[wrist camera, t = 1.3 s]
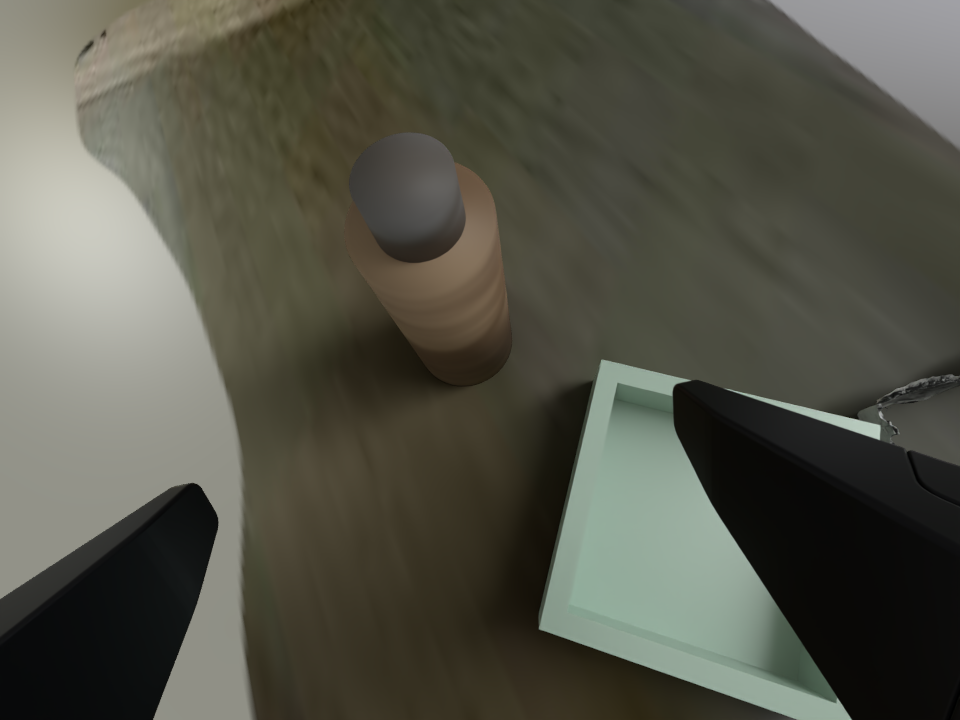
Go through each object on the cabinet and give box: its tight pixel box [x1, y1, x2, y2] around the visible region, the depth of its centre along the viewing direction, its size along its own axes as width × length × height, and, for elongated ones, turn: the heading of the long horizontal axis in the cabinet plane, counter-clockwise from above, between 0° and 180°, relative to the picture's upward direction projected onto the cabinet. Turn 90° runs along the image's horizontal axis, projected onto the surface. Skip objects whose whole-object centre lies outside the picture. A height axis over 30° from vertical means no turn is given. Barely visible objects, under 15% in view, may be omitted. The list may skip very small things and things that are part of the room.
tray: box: [538, 360, 881, 720], centre depth 19 cm, size 10×10×3 cm
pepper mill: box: [344, 133, 512, 386], centre depth 18 cm, size 5×5×12 cm
